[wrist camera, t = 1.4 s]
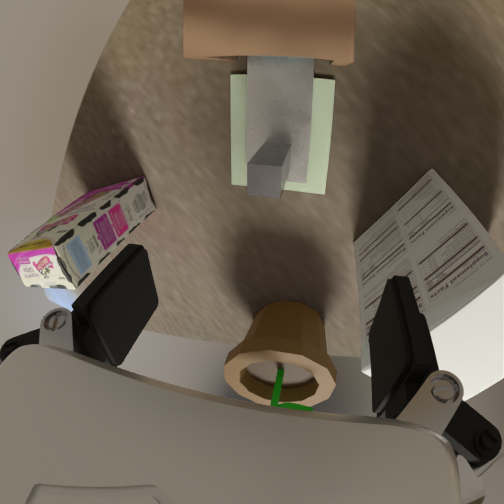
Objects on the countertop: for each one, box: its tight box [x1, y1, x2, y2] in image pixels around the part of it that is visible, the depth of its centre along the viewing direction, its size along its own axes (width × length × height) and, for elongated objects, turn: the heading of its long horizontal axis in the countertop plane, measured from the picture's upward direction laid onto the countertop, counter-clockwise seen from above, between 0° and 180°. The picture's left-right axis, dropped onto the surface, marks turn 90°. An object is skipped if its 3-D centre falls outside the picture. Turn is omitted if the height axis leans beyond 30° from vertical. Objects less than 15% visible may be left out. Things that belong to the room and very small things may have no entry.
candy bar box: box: [8, 176, 156, 289], centre depth 30 cm, size 11×5×16 cm, turn 103°
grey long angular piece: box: [247, 56, 315, 199], centre depth 21 cm, size 19×6×8 cm, turn 0°
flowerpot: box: [224, 300, 337, 411], centre depth 31 cm, size 14×14×30 cm
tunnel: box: [183, 0, 355, 66], centre depth 18 cm, size 7×11×10 cm, turn 90°
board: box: [231, 74, 335, 194], centre depth 28 cm, size 12×10×1 cm
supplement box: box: [353, 169, 504, 401], centre depth 24 cm, size 13×13×18 cm
